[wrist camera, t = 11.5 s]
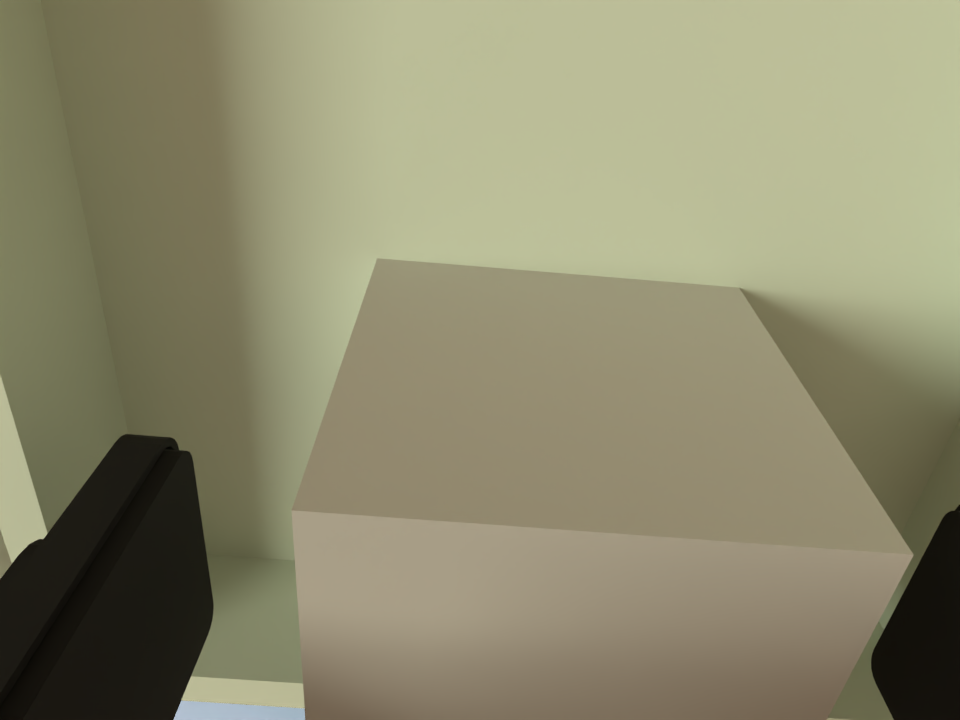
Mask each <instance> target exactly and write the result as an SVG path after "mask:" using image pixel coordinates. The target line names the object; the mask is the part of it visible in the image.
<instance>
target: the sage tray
mask: <svg viewBox="0 0 960 720" xmlns="http://www.w3.org/2000/svg"><path fill="white" fill-rule="evenodd" d="M377 258H379V259H392V260H404V261H416V262H429V263H441V264H453V265H466V266H478V267H490V268H503V269H515V270H528V271H540V272H552V273H565V274H577V275H589V276H602V277H614V278H626V279H639V280H651V281H663V282H676V283H688V284H700V285H713V286H725V287H737V288H740V290H741V291H742V293H743V295H744V296H745V298H746V299H747V301H748V302H749V304H750V305H751V307H752V308H753V310H754V311H755V313H756V314H757V316H758V317H759V319H760V321H761V322H762V324H763V325H764V327H765V328H766V330H767V331H768V333H769V334H770V336H771V337H772V339H773V340H774V342H775V343H776V345H777V347H778V348H779V350H780V351H781V353H782V354H783V356H784V357H785V359H786V360H787V362H788V363H789V365H790V366H791V368H792V369H793V371H794V373H795V374H796V376H797V377H798V379H799V380H800V382H801V383H802V385H803V386H804V388H805V389H806V391H807V392H808V394H809V395H810V397H811V399H812V400H813V402H814V403H815V405H816V406H817V408H818V409H819V411H820V412H821V414H822V415H823V417H824V418H825V420H826V421H827V423H828V425H829V426H830V428H831V429H832V431H833V432H834V434H835V435H836V437H837V438H838V440H839V441H840V443H841V444H842V446H843V447H844V449H845V451H846V452H847V454H848V455H849V457H850V458H851V460H852V461H853V463H854V464H855V466H856V467H857V469H858V470H859V472H860V473H861V475H862V477H863V478H864V480H865V481H866V483H867V484H868V486H869V487H870V489H871V490H872V492H873V493H874V495H875V496H876V498H877V499H878V501H879V503H880V504H881V506H882V507H883V509H884V510H885V512H886V513H887V515H888V516H889V518H890V519H891V521H892V522H893V524H894V525H895V527H896V529H897V530H898V532H899V533H900V535H901V536H902V538H903V539H904V541H905V542H906V544H907V545H908V547H909V548H910V550H911V551H912V553H913V557H912V559H911V561H910V563H909V565H908V567H907V569H906V570H905V572H904V574H903V576H902V578H901V580H900V582H899V584H898V586H897V587H896V589H895V591H894V593H893V595H892V597H891V599H890V601H889V603H888V605H887V606H886V608H885V610H884V612H883V614H882V616H881V618H880V620H879V622H878V623H877V625H876V627H875V629H874V631H873V633H872V635H871V637H870V639H869V641H868V642H867V644H866V646H865V648H864V650H863V652H862V654H861V656H860V658H859V659H858V661H857V663H856V665H855V667H854V669H853V671H852V673H851V675H850V677H849V678H848V680H847V682H846V684H845V686H844V688H843V690H842V692H841V694H840V695H839V697H838V699H837V701H836V703H835V705H834V707H833V709H832V711H831V713H830V714H829V716H828V718H827V720H894V719H893V717H892V715H891V713H890V711H889V709H888V707H887V705H886V703H885V701H884V699H883V697H882V695H881V693H880V691H879V689H878V687H877V685H876V683H875V680H874V678H873V674H872V670H871V657H872V653H873V650H874V648H875V646H876V644H877V642H878V640H879V638H880V637H881V635H882V633H883V631H884V629H885V627H886V625H887V623H888V621H889V619H890V617H891V616H892V614H893V612H894V610H895V608H896V606H897V604H898V602H899V600H900V598H901V596H902V595H903V593H904V591H905V589H906V587H907V585H908V583H909V581H910V579H911V577H912V575H913V574H914V572H915V570H916V568H917V566H918V564H919V562H920V560H921V558H922V556H923V554H924V553H925V551H926V549H927V547H928V545H929V543H930V541H931V539H932V537H933V535H934V533H935V532H936V530H937V528H938V526H939V524H940V522H941V520H942V518H943V517H944V516H945V514H946V513H948V512H950V511H955V509H956V508H957V507H958V505H959V504H960V0H0V530H1V533H2V536H3V539H4V542H5V545H6V548H7V551H8V554H9V557H10V560H11V562H12V563H13V562H14V560H15V559H16V558H17V556H18V555H19V554H20V553H21V552H22V551H23V550H24V549H25V548H26V547H27V546H28V545H29V544H30V543H32V542H34V541H36V540H38V539H44V538H45V536H46V535H47V534H48V532H49V531H50V529H51V528H52V527H53V525H54V524H55V523H56V521H57V520H58V519H59V517H60V516H61V515H62V513H63V512H64V511H65V509H66V508H67V507H68V505H69V504H70V503H71V501H72V500H73V498H74V497H75V496H76V494H77V493H78V492H79V490H80V489H81V488H82V486H83V485H84V484H85V482H86V481H87V480H88V478H89V477H90V476H91V474H92V473H93V472H94V470H95V469H96V468H97V466H98V465H99V463H100V462H101V461H102V459H103V458H104V457H105V455H106V454H107V453H108V451H109V450H110V449H111V447H112V446H113V445H114V443H115V442H116V441H117V440H118V439H119V438H120V437H121V436H122V435H125V434H133V435H146V436H159V437H171V438H173V439H175V440H176V442H177V444H178V447H179V450H184V451H189V452H190V453H191V455H192V458H193V464H194V470H195V477H196V484H197V491H198V498H199V505H200V512H201V519H202V526H203V533H204V540H205V547H206V554H207V561H208V568H209V575H210V581H211V588H212V595H213V604H214V609H213V618H212V623H211V627H210V631H209V633H208V636H207V639H206V641H205V643H204V646H203V648H202V651H201V653H200V656H199V658H198V661H197V663H196V665H195V668H194V670H193V673H192V675H191V678H190V680H189V682H188V685H187V687H186V690H185V692H184V695H183V697H182V700H183V701H199V702H214V703H230V704H245V705H261V706H276V707H292V708H305V706H304V691H303V676H302V661H301V646H300V631H299V616H298V601H297V586H296V571H295V556H294V541H293V526H292V511H291V510H292V507H293V504H294V501H295V499H296V496H297V493H298V490H299V487H300V484H301V481H302V478H303V475H304V472H305V469H306V466H307V463H308V460H309V457H310V454H311V451H312V449H313V446H314V443H315V440H316V437H317V434H318V431H319V428H320V425H321V422H322V419H323V416H324V413H325V410H326V407H327V404H328V401H329V398H330V396H331V393H332V390H333V387H334V384H335V381H336V378H337V375H338V372H339V369H340V366H341V363H342V360H343V357H344V354H345V351H346V348H347V346H348V343H349V340H350V337H351V334H352V331H353V328H354V325H355V322H356V319H357V316H358V313H359V310H360V307H361V304H362V301H363V298H364V296H365V293H366V290H367V287H368V284H369V281H370V278H371V275H372V272H373V269H374V266H375V263H376V260H377Z"/></svg>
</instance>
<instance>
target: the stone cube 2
mask: <svg viewBox="0 0 960 720" xmlns="http://www.w3.org/2000/svg"><path fill="white" fill-rule="evenodd" d="M291 511H292V526H293V541H294V556H295V571H296V586H297V601H298V616H299V631H300V646H301V661H302V676H303V691H304V706H305V720H827V718H828V716H829V714H830V713H831V711H832V709H833V707H834V705H835V703H836V701H837V699H838V697H839V695H840V694H841V692H842V690H843V688H844V686H845V684H846V682H847V680H848V678H849V677H850V675H851V673H852V671H853V669H854V667H855V665H856V663H857V661H858V659H859V658H860V656H861V654H862V652H863V650H864V648H865V646H866V644H867V642H868V641H869V639H870V637H871V635H872V633H873V631H874V629H875V627H876V625H877V623H878V622H879V620H880V618H881V616H882V614H883V612H884V610H885V608H886V606H887V605H888V603H889V601H890V599H891V597H892V595H893V593H894V591H895V589H896V587H897V586H898V584H899V582H900V580H901V578H902V576H903V574H904V572H905V570H906V569H907V567H908V565H909V563H910V561H911V559H912V557H913V553H912V551H911V550H910V548H909V547H908V545H907V544H906V542H905V541H904V539H903V538H902V536H901V535H900V533H899V532H898V530H897V529H896V527H895V525H894V524H893V522H892V521H891V519H890V518H889V516H888V515H887V513H886V512H885V510H884V509H883V507H882V506H881V504H880V503H879V501H878V499H877V498H876V496H875V495H874V493H873V492H872V490H871V489H870V487H869V486H868V484H867V483H866V481H865V480H864V478H863V477H862V475H861V473H860V472H859V470H858V469H857V467H856V466H855V464H854V463H853V461H852V460H851V458H850V457H849V455H848V454H847V452H846V451H845V449H844V447H843V446H842V444H841V443H840V441H839V440H838V438H837V437H836V435H835V434H834V432H833V431H832V429H831V428H830V426H829V425H828V423H827V421H826V420H825V418H824V417H823V415H822V414H821V412H820V411H819V409H818V408H817V406H816V405H815V403H814V402H813V400H812V399H811V397H810V395H809V394H808V392H807V391H806V389H805V388H804V386H803V385H802V383H801V382H800V380H799V379H798V377H797V376H796V374H795V373H794V371H793V369H792V368H791V366H790V365H789V363H788V362H787V360H786V359H785V357H784V356H783V354H782V353H781V351H780V350H779V348H778V347H777V345H776V343H775V342H774V340H773V339H772V337H771V336H770V334H769V333H768V331H767V330H766V328H765V327H764V325H763V324H762V322H761V321H760V319H759V317H758V316H757V314H756V313H755V311H754V310H753V308H752V307H751V305H750V304H749V302H748V301H747V299H746V298H745V296H744V295H743V293H742V291H741V290H740V288H737V287H725V286H713V285H700V284H688V283H676V282H663V281H651V280H639V279H626V278H614V277H602V276H589V275H577V274H565V273H552V272H540V271H528V270H515V269H503V268H490V267H478V266H466V265H453V264H441V263H429V262H416V261H404V260H392V259H379V258H377V260H376V263H375V266H374V269H373V272H372V275H371V278H370V281H369V284H368V287H367V290H366V293H365V296H364V298H363V301H362V304H361V307H360V310H359V313H358V316H357V319H356V322H355V325H354V328H353V331H352V334H351V337H350V340H349V343H348V346H347V348H346V351H345V354H344V357H343V360H342V363H341V366H340V369H339V372H338V375H337V378H336V381H335V384H334V387H333V390H332V393H331V396H330V398H329V401H328V404H327V407H326V410H325V413H324V416H323V419H322V422H321V425H320V428H319V431H318V434H317V437H316V440H315V443H314V446H313V449H312V451H311V454H310V457H309V460H308V463H307V466H306V469H305V472H304V475H303V478H302V481H301V484H300V487H299V490H298V493H297V496H296V499H295V501H294V504H293V507H292V510H291Z"/></svg>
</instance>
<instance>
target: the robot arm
mask: <svg viewBox="0 0 960 720" xmlns="http://www.w3.org/2000/svg"><path fill="white" fill-rule="evenodd" d="M213 609H214V604H213V595H212V588H211V581H210V575H209V568H208V561H207V554H206V547H205V540H204V533H203V526H202V519H201V512H200V505H199V498H198V491H197V484H196V477H195V470H194V464H193V458H192V455H191V453H190V452H189V451H184V450H179V447H178V444H177V442H176V440H175V439H173V438H171V437H159V436H146V435H133V434H125V435H122V436H121V437H120V438H119V439H118V440H117V441H116V442H115V443H114V445H113V446H112V447H111V449H110V450H109V451H108V453H107V454H106V455H105V457H104V458H103V459H102V461H101V462H100V463H99V465H98V466H97V468H96V469H95V470H94V472H93V473H92V474H91V476H90V477H89V478H88V480H87V481H86V482H85V484H84V485H83V486H82V488H81V489H80V490H79V492H78V493H77V494H76V496H75V497H74V498H73V500H72V501H71V503H70V504H69V505H68V507H67V508H66V509H65V511H64V512H63V513H62V515H61V516H60V517H59V519H58V520H57V521H56V523H55V524H54V525H53V527H52V528H51V529H50V531H49V532H48V534H47V535H46V536H45V538H44V539H38V540H36V541H34V542H32V543H30V544H29V545H28V546H27V547H26V548H25V549H24V550H23V551H22V552H21V553H20V554H19V555H18V556H17V558H16V559H15V560H14V562H13V563H12V564H11V566H10V567H9V568H8V570H7V571H6V572H5V573H4V575H3V576H2V577H1V579H0V720H173V719H174V717H175V714H176V712H177V709H178V707H179V704H180V702H181V700H182V697H183V695H184V692H185V690H186V687H187V685H188V682H189V680H190V678H191V675H192V673H193V670H194V668H195V665H196V663H197V661H198V658H199V656H200V653H201V651H202V648H203V646H204V643H205V641H206V639H207V636H208V633H209V631H210V627H211V623H212V618H213ZM871 670H872V674H873V678H874V680H875V683H876V685H877V687H878V689H879V691H880V693H881V695H882V697H883V699H884V701H885V703H886V705H887V707H888V709H889V711H890V713H891V715H892V717H893V719H894V720H960V504H959V505H958V507H957V508H956V509H955V511H950V512H948V513H946V514H945V516H944V517H943V518H942V520H941V522H940V524H939V526H938V528H937V530H936V532H935V533H934V535H933V537H932V539H931V541H930V543H929V545H928V547H927V549H926V551H925V553H924V554H923V556H922V558H921V560H920V562H919V564H918V566H917V568H916V570H915V572H914V574H913V575H912V577H911V579H910V581H909V583H908V585H907V587H906V589H905V591H904V593H903V595H902V596H901V598H900V600H899V602H898V604H897V606H896V608H895V610H894V612H893V614H892V616H891V617H890V619H889V621H888V623H887V625H886V627H885V629H884V631H883V633H882V635H881V637H880V638H879V640H878V642H877V644H876V646H875V648H874V650H873V653H872V657H871Z"/></svg>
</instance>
